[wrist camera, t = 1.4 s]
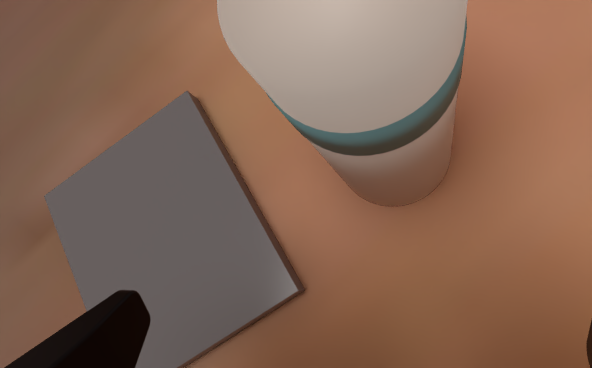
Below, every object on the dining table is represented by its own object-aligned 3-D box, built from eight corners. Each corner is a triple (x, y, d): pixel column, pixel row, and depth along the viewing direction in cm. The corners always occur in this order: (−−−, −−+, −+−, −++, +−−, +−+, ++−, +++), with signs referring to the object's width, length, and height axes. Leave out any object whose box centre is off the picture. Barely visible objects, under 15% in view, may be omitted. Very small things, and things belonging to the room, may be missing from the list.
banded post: (476, 164, 22) (539, -22, 8) (376, 229, 22) (289, 150, 9) (408, 78, 23) (372, -183, 10) (317, 140, 24) (178, -31, 11)
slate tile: (305, 290, 23) (298, 290, 22) (135, 397, 24) (121, 403, 23) (197, 98, 27) (187, 90, 26) (59, 199, 28) (44, 196, 27)
